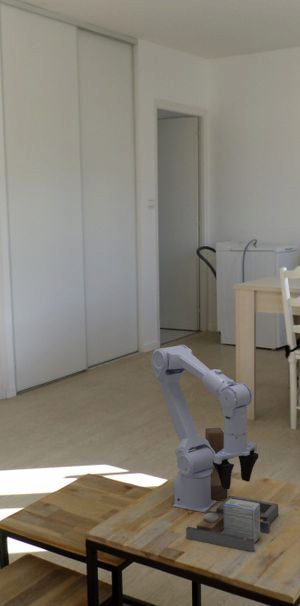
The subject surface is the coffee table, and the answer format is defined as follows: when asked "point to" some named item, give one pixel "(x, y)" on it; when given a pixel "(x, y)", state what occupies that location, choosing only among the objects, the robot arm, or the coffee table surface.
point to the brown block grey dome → (212, 522)
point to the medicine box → (242, 519)
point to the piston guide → (225, 536)
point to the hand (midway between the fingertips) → (235, 484)
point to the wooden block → (217, 444)
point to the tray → (266, 509)
